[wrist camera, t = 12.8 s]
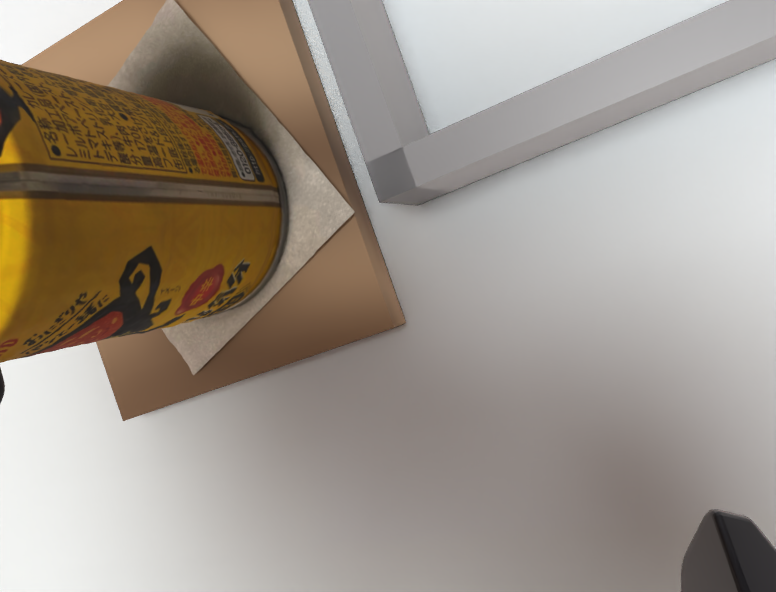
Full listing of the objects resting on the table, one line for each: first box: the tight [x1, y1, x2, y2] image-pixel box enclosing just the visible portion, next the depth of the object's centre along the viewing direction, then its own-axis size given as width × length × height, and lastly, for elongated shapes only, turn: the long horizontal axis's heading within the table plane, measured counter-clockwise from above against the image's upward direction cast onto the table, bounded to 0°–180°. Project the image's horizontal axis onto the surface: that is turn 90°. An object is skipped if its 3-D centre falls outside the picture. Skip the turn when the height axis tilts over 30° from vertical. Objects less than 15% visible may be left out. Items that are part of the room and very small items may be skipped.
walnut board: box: [22, 0, 406, 421], centre depth 21 cm, size 12×10×1 cm
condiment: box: [0, 0, 355, 375], centre depth 15 cm, size 7×8×12 cm
